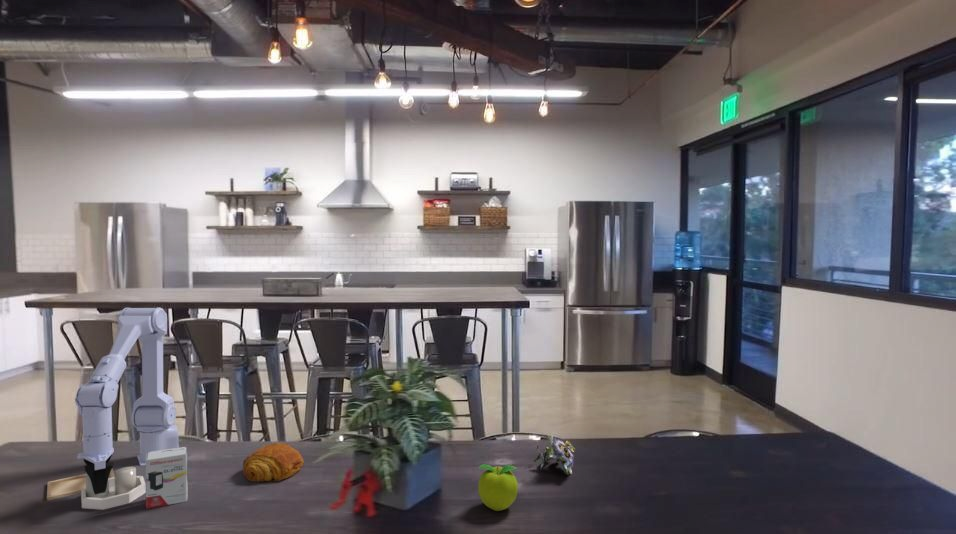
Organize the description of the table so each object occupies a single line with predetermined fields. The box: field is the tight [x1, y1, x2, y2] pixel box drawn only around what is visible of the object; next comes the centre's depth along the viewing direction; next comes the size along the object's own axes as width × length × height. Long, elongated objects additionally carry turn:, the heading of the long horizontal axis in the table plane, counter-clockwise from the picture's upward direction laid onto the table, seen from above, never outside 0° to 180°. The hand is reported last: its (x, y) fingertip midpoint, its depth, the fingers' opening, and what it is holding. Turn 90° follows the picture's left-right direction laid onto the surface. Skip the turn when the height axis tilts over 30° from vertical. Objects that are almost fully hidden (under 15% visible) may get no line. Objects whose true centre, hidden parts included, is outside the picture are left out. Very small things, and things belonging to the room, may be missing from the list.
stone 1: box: [85, 473, 109, 498], centre depth 128 cm, size 4×4×5 cm
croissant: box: [242, 442, 305, 482], centre depth 145 cm, size 14×16×8 cm
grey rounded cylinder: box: [113, 466, 137, 495], centre depth 132 cm, size 4×4×5 cm
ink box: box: [145, 446, 189, 510], centre depth 128 cm, size 9×5×12 cm, turn 117°
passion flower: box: [533, 435, 577, 476], centre depth 147 cm, size 11×11×12 cm
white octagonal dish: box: [80, 475, 146, 511], centre depth 130 cm, size 13×13×3 cm
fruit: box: [477, 463, 518, 512], centre depth 126 cm, size 9×9×10 cm
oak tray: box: [46, 467, 115, 501], centre depth 136 cm, size 14×11×1 cm
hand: (99, 488), depth 128 cm, fingers closed on stone 1, 4 cm apart
